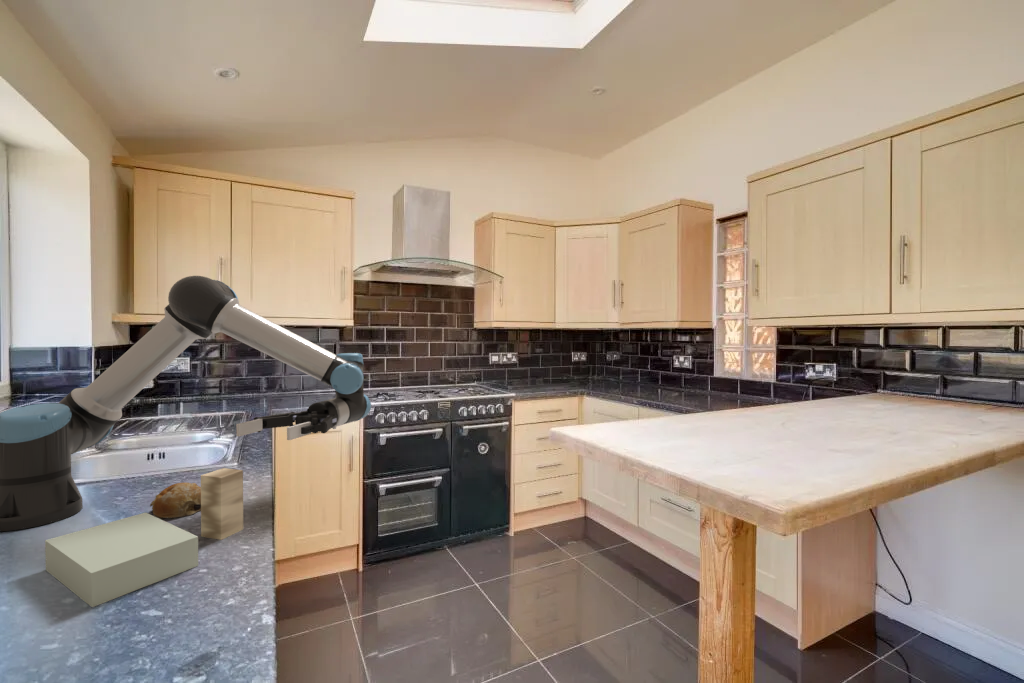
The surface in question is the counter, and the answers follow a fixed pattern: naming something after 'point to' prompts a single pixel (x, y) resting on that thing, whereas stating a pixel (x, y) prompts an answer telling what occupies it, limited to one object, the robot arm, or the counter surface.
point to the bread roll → (177, 501)
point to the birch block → (221, 503)
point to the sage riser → (120, 557)
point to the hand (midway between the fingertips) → (262, 432)
